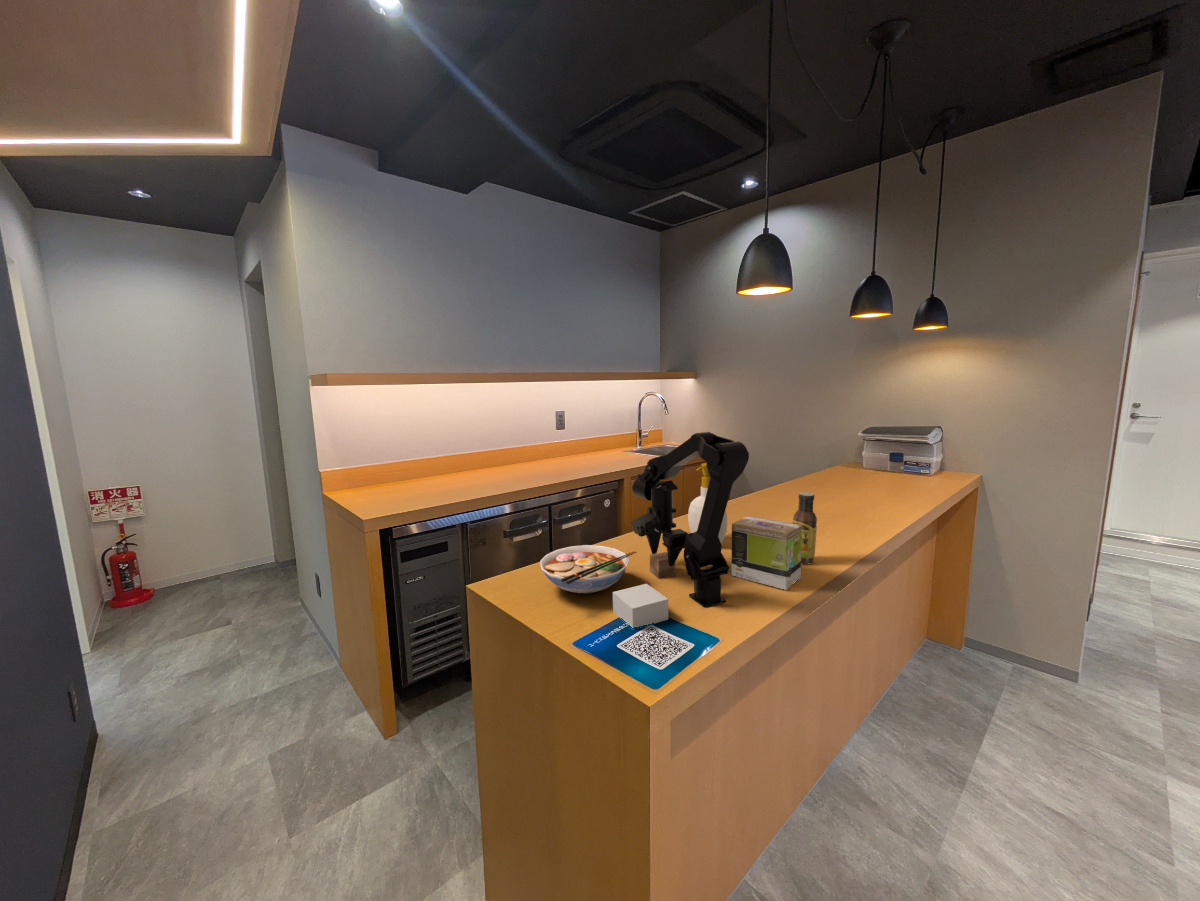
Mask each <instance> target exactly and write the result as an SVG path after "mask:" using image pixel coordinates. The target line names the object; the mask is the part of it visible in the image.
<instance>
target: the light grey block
mask: <svg viewBox="0 0 1200 901" xmlns="http://www.w3.org/2000/svg"><path fill="white" fill-rule="evenodd" d="M612 612H613V613H614V614H615V615H616V616H617V617H618V616H619V617H618V618H619V619H621V618H622V619H623V620H624V621H625V622H627V623H628V624H629V625H630V626H631V627H632V628H634V627H639V626H643V625H647V626H649V625H648V624H651V625H653V624H652V623H654V624H657V623H660V622H664V621H667V620H669V599H668V598H667V597H666V596H665V595H663V594H662V593H660V592H659V591H658V590H656V589H655V588H653V587H652V586H650V585H649V584H648V583H643V584H640V585H636V586H632V587H628V588H624V589H620V590H617V591H612ZM622 619H621V620H622ZM623 620H622V621H623ZM624 621H623V622H624ZM625 622H624V623H625ZM632 628H631V629H632Z"/></svg>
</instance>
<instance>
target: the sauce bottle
mask: <svg viewBox="0 0 1200 901" xmlns="http://www.w3.org/2000/svg"><path fill="white" fill-rule="evenodd" d="M814 500H815V494H814V493H813V492H809V491H801V492H799V493H798V509H797V510H796V512H795V513H794V514H793V520H792V523H793V524H799V525H802V543H801V563H802V564H801V565H809V564H808V563H812V562H813V563H814V561H815V557H816V556H815V555H816V542H817V529H818V528H817V523H818V522H817V521H818V517H817V516H816V513H815V512H814ZM813 563H812V564H813Z"/></svg>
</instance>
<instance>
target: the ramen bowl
mask: <svg viewBox="0 0 1200 901" xmlns="http://www.w3.org/2000/svg"><path fill="white" fill-rule="evenodd" d="M636 553H637V551H632V552H629V553H625V552H623V551H622V550H620V549H618V548H613V547H611V546H610V547H609V546H606V545H593V544H590V545H589V544H582V545H573V546H572V545H571V546H567V547H563V548H559V549H556V550H553V551H551V552H549V553H547V554H546V555H544V556H543V557H542V559H540V561H539V564H540V568H541V571H542V572H543V575H545V576H546V578H547V579H548V580H549V581H550V582H551V583H552V584H553V585H555V586H556V587H558V588H559V589H561V590H563V591H567V592H571V593H577V594H581V593H583V595H584V594H586V595H587V594H592V593H597V592H600V591H603V590H606V589H608V588H610V587H611V586H612V585H614V584H616V583H617V582H619V580H620V579H621V577H622V576H623V575H624V573H625V571H626V570H627V568H628V566H629V562H630V558H629V557H630V556H632V555H634V554H636Z"/></svg>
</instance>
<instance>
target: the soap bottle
mask: <svg viewBox="0 0 1200 901" xmlns="http://www.w3.org/2000/svg"><path fill="white" fill-rule="evenodd" d="M706 466H707V462H704V463H701V466H700V467H698V468H696V469H695V470H696V471H697V472H698V471H699V470H702V475H703V476H701V486H700V495H699V496H696V497H695V498H694V499H693V500H692V501H691V502H690V504H689V507H688V513H687V514H688V515H687V520H688V528H689V530H690V533H694V532H696V531H697V529H698V525H699V521H700V517H701V513H702V509H703V505H704V502H705V498H706V494H707V490H708V486H709V482H710V475H709V472H708V470H707V467H706ZM727 514H728V513H727V509H726V510H725V513H724V517H723V521H722V524H721V528H720V531H719V535H718V537H719V540H720V542H721V544H722V543H723V542H724V540H725V536H726V535H727V532H728V531H727V530H728V515H727Z"/></svg>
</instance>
